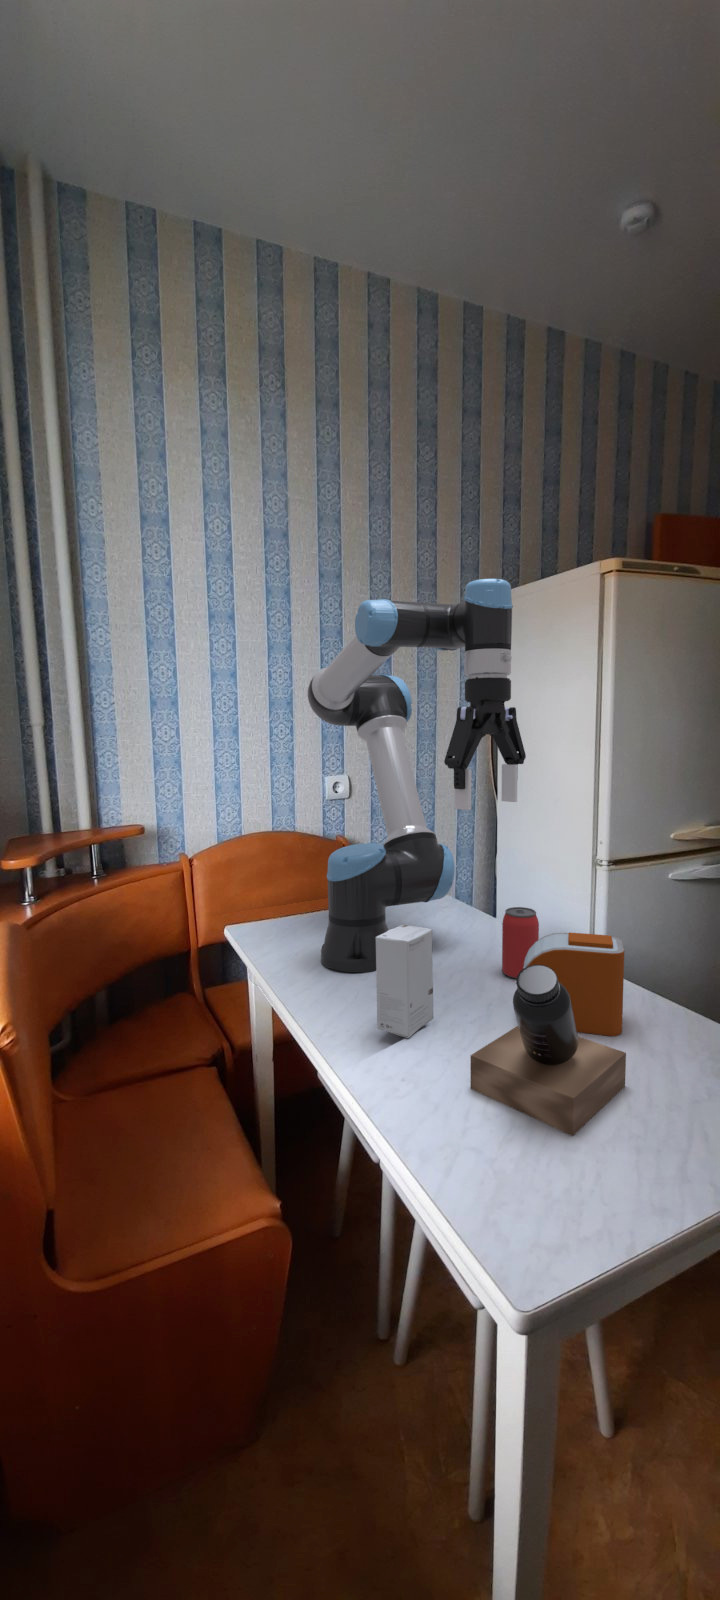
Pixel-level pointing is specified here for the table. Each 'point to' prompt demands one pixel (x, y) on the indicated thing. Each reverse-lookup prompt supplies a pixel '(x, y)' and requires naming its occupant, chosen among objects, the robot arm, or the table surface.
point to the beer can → (517, 938)
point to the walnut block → (549, 1080)
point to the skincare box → (404, 979)
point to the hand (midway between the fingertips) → (487, 805)
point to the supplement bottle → (545, 1016)
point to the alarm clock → (586, 977)
